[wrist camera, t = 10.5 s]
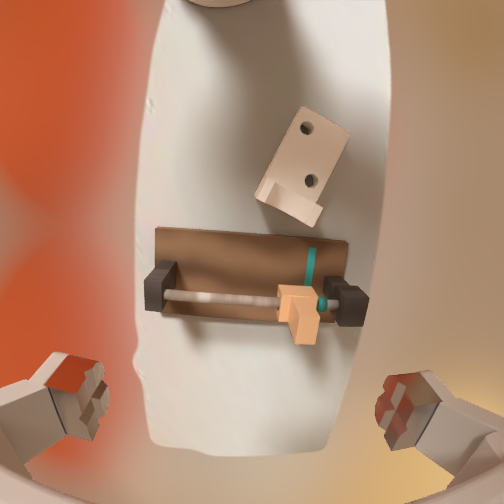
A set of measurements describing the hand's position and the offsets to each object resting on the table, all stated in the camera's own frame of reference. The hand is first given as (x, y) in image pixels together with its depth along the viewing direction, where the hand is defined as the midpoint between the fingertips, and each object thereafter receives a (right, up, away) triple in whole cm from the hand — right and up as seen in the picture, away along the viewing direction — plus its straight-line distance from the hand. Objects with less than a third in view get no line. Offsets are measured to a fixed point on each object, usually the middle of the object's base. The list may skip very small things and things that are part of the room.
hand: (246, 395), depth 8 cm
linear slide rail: (0, +1, +35) cm, 35 cm away
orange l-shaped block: (+5, -2, +28) cm, 29 cm away
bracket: (+6, +16, +32) cm, 37 cm away
